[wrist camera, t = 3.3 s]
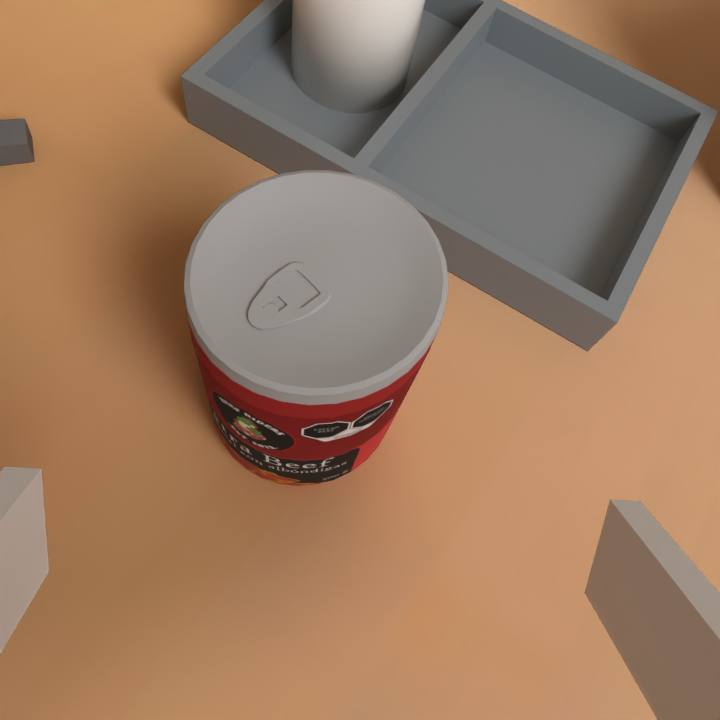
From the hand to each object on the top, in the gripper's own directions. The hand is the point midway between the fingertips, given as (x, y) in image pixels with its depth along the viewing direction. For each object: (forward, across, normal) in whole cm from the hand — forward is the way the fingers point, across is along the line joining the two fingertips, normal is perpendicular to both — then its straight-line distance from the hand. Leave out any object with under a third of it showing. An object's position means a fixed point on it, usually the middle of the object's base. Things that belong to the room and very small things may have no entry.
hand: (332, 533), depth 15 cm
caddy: (+25, +6, +9) cm, 28 cm away
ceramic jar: (+27, +1, +12) cm, 30 cm away
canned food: (+14, -1, -3) cm, 14 cm away
